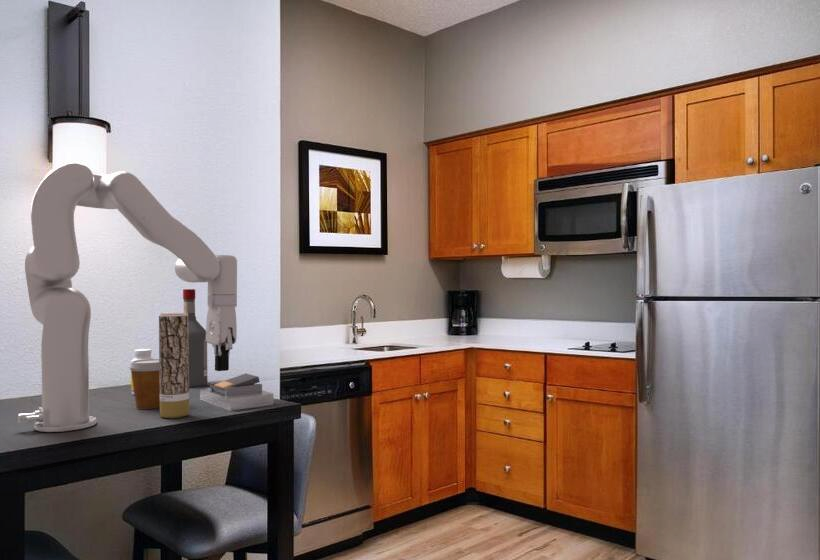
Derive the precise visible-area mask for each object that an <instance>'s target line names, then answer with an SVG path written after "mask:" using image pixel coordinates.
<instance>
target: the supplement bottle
mask: <svg viewBox="0 0 820 560" xmlns="http://www.w3.org/2000/svg"><path fill="white" fill-rule="evenodd" d="M133 355H134V358H133V359H132V360H130V363H131V362H132V361H135V360H144V359H154V357H152V349H151V348H142V349H141V348H139V349H138V348H137V349H134V351H133ZM130 387H131V388H130V391H131V395H133V396H135V394H134V387H133V381H132V373H131V372H130Z"/></svg>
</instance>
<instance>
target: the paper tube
mask: <svg viewBox="0 0 820 560" xmlns="http://www.w3.org/2000/svg"><path fill="white" fill-rule="evenodd" d="M158 359H159V385H160V407H159V416H160V417H162V418H164V419H178V418H184V417H187V416H188V415H189V414H190V388H189V320H188V314H187V313H184V312H162V313H159V314H158Z"/></svg>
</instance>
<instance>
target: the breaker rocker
mask: <svg viewBox="0 0 820 560" xmlns="http://www.w3.org/2000/svg"><path fill="white" fill-rule="evenodd" d="M219 382H220V383H217V384H214V385H212V388H213V391H216V392H219V393H222V394H225V388H227V387H235V386H244V385H253V384H259V383H260V377H259V376H257V375H253V374H249V373H242V374H240V375H237V376H235V377H232V378H229V379H226V380H223V381H219Z"/></svg>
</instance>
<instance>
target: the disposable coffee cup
mask: <svg viewBox="0 0 820 560" xmlns="http://www.w3.org/2000/svg"><path fill="white" fill-rule="evenodd" d="M131 361H132V360H131ZM131 361H130V365H129V370H130V374H131V373H132V381H133V387H134V394H135V395H134V401H135V407H136V409H138V410H151V408H153V409H157V408H158V407H159V408H160V385H159V358H153V359H144V360H135V361H132V362H131Z"/></svg>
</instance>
